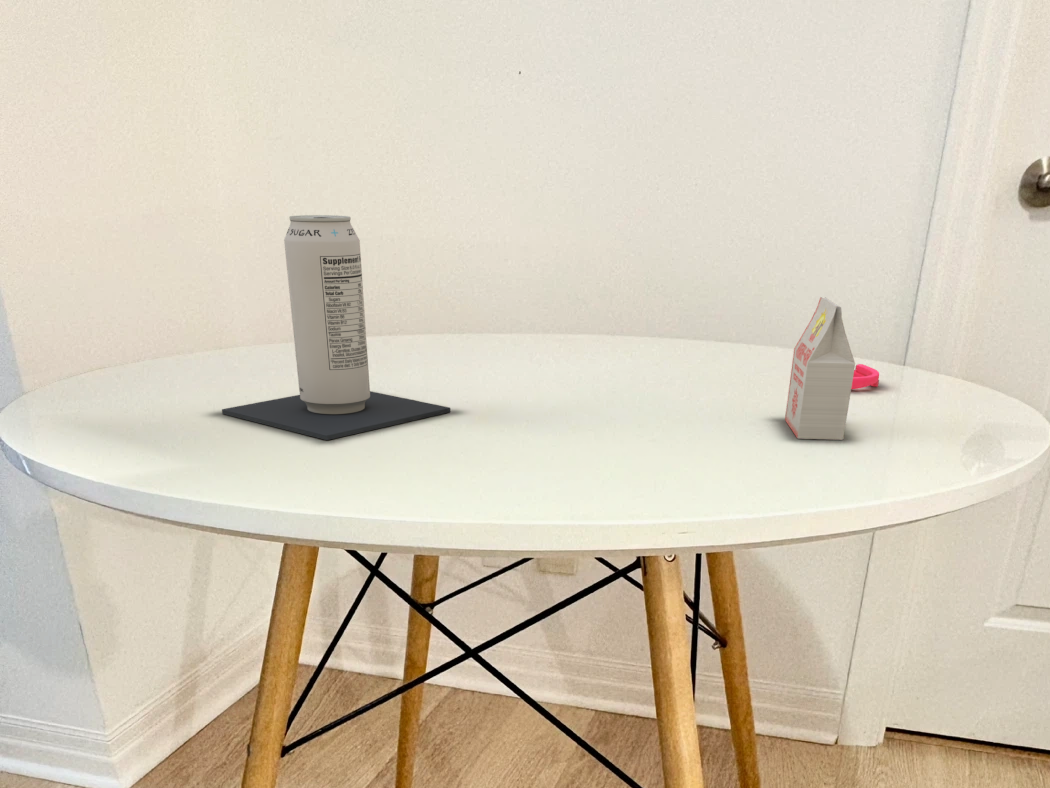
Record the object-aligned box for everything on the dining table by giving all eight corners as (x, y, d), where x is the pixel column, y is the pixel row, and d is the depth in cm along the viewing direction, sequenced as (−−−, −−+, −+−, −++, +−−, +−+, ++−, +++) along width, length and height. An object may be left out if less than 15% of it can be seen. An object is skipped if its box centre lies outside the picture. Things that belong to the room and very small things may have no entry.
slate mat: (326, 440, 79) (326, 435, 79) (222, 413, 87) (221, 409, 87) (450, 412, 89) (450, 407, 88) (346, 390, 96) (345, 386, 96)
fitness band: (888, 390, 100) (891, 374, 99) (833, 392, 99) (836, 375, 98) (852, 375, 106) (854, 360, 106) (800, 376, 106) (802, 361, 105)
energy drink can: (338, 398, 91) (323, 214, 84) (385, 407, 88) (373, 217, 81) (286, 408, 87) (265, 216, 80) (333, 419, 84) (316, 219, 77)
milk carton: (827, 421, 87) (846, 297, 82) (843, 439, 81) (864, 307, 77) (784, 419, 88) (800, 296, 83) (797, 438, 82) (815, 306, 77)
